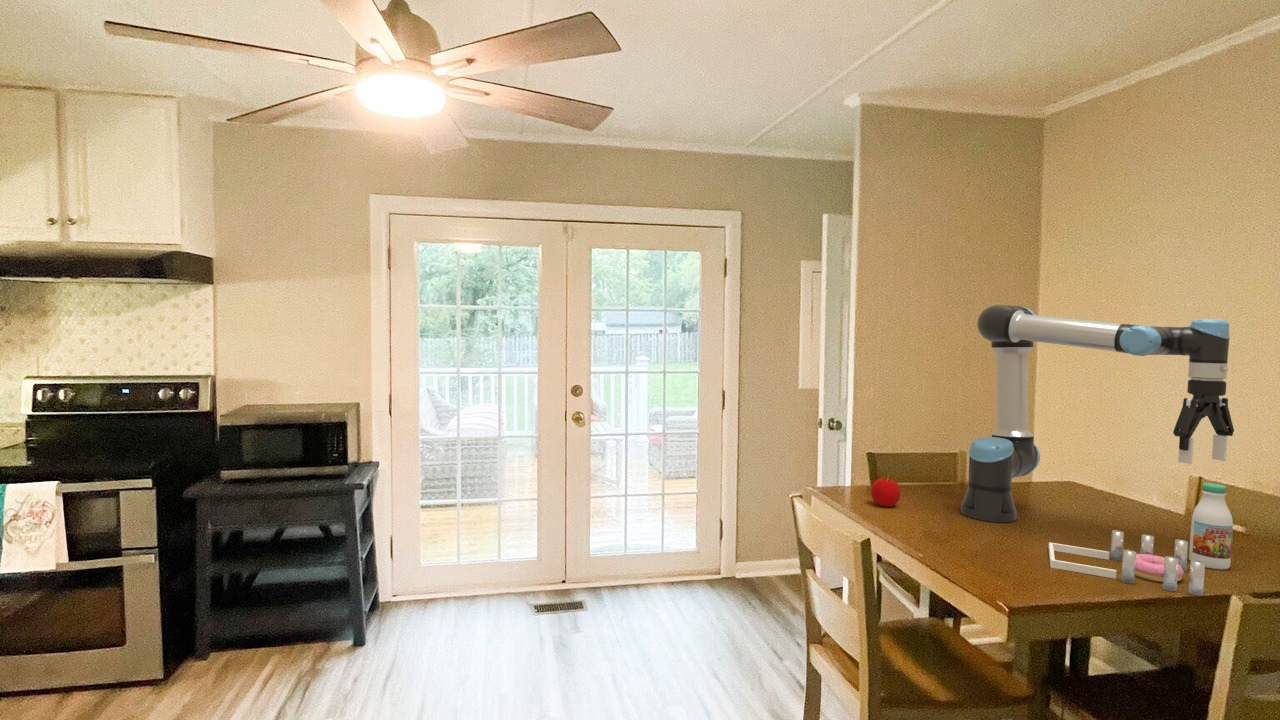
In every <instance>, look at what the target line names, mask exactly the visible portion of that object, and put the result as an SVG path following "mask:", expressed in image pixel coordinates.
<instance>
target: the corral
mask: <svg viewBox="0 0 1280 720" xmlns="http://www.w3.org/2000/svg"><path fill="white" fill-rule="evenodd" d="M1055 552H1058V553H1064V554H1071V555H1078V556H1084V557H1090V558H1096V559H1102V560H1103V559H1104V560H1107V561H1108V560H1110V551H1106V550H1100V549H1094V548H1088V547H1082V546H1081V547H1080V546H1074V545H1069V544H1062V543H1055V542H1048V556H1049V564H1050V568H1052V569H1058V570H1064V571H1070V572H1075V573H1080V574H1081V573H1082V574H1086V575H1091V576H1092V575H1093V576H1099V577H1104V578H1108V579H1117V569H1112V568H1105V567H1102V566H1101V567H1100V566H1094V565H1090V564H1089V565H1087V564H1081V563H1075V562H1070V561H1064V560H1060V559H1059V560H1058V559H1056V557H1055Z"/></svg>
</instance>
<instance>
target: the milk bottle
mask: <svg viewBox="0 0 1280 720" xmlns="http://www.w3.org/2000/svg"><path fill="white" fill-rule="evenodd" d="M1201 492H1202V495H1201V498H1200V500H1199V502H1198V503H1197V505H1196V506H1195V508H1194V510H1193V512H1192V514H1191V515H1192V516H1191V521H1190V522H1191V523H1190V536H1189V548H1188V550H1189V551H1188V552H1189V553H1188V560H1189V562H1191V560H1196V561H1201V562H1204V563H1205V568H1208V569H1212V570H1213V569H1214V570H1221V571H1222V570H1223V571H1224V570H1228V569H1229V568H1230V567H1231V560H1232V547H1233V546H1232V545H1233V531H1234V530H1233V529H1234V528H1233V525H1234V524H1233V523H1234V521H1233V515H1232V513H1231V511H1230V509H1229V507H1228V504H1227V502H1226V496H1227V493H1228V488H1227V486H1226V485H1223V484H1220V483H1214V482H1213V483H1212V482H1203V483H1202V484H1201Z"/></svg>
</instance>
